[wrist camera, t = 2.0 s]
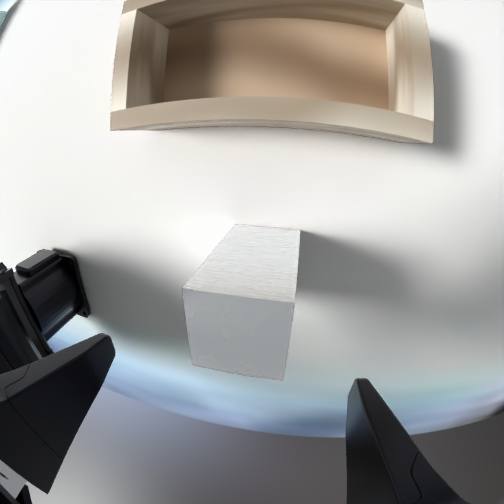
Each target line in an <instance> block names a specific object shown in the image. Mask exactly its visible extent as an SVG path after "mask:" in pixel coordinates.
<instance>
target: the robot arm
mask: <svg viewBox="0 0 504 504" xmlns="http://www.w3.org/2000/svg"><path fill="white" fill-rule="evenodd" d="M76 314H78V315H81V316H83V317H88V316H89V315H90V310H89V307H88V303H87V300H86V297H85V293H84V289H83V286H82V282H81V278H80V274H79V270H78V266H77V261H76V259H75V257H74V256H71V255H66V254H60V253H58V252H56V251H51V250H45V249H43V250H39V251H37V253H36V254H34V255H32V256H31V257H29V258H27V259H26V260H24V261H22V262H21V263H19V264H17V265H16V272H13V270H12V268H10V269H7V267H6V266H5V265H4V264H3V263H2V262H1V263H0V504H32V502H31V498H30V493H29V489H28V486H27V485H26V484H25V483H26V482H27V481H28V482H30V483H31V484H33V485H34V486H36V487H37V488H39V489H40V490H42V491H43V492H45V493H46V494H48V493H49V491H50V489H51V487H52V484H53V482H54V479H55V477H56V475H57V473H58V471H59V469H60V466H61V464H62V462H63V459H64V458H65V455H66V453H67V451H68V449H69V447H70V445H71V443H72V441H73V439H74V437H75V435H76V433H77V431H78V429H79V427H80V425H81V424H82V422H83V420H84V418H85V416H86V414H87V412H88V410H89V408H90V407H91V405H92V403H93V401H94V399H95V397H96V396H97V394H98V392H99V390H100V388H101V386H102V384H103V382H104V380H105V378H106V375H107V373H108V371H109V368H110V366H111V364H112V362H113V359H114V357H115V348H114V345H113V343H112V340H111V337H110V336H109V335H106V334H103V333H100V334H97V335H95V336H93V337H90V338H88V339H86V340H84V341H81V342H79V343H77V344H74V345H72V346H70V347H68V348H65V349H63V350H61V351H58V352H56V353H54V352H53V350H52V349H51V348H50V347H49V345H48V343H47V341H48V340H49V339H50V338H51V337H52V336H53V335H54V334H55V333H57V332H58V331H59V330H60V329H61V328H62V327H63V326H64V325H65V324H66V323H67V322H69V321H70V320H71V319H72V318H73V317H74V316H75V315H76ZM346 465H347V504H471V503H469V502H467V501H465V500H464V499H462V498H461V497H460V496H459V495H458V494H457V493H456V492H455V491H454V490H453V489H452V488H451V487H450V486H449V484H448V483H447V482H446V481H445V480H444V479H443V478H442V477H441V476H440V475H439V474H438V472H437V471H436V470H435V469H434V468H433V467H432V465H431V464H430V463H429V461H428V460H427V459H426V458H425V456H424V455H423V453H422V452H421V451H420V450H419V448H418V447H417V445H416V444H415V442H414V441H413V440H412V438H411V437H410V435H409V434H408V433H407V431H406V430H405V429H404V427H403V426H402V425H401V423H400V422H399V420H398V419H397V418H396V416H395V415H394V414H393V412H392V411H391V410H390V408H389V407H388V405H387V404H386V403H385V401H384V400H383V399H382V397H381V396H380V395H379V393H378V392H377V391H376V389H375V388H374V387H373V385H372V384H371V383H370V381H369V380H368V379H365V378H357V379H355V381H354V383H353V385H352V387H351V390H350V392H349V395H348V404H347V422H346Z"/></svg>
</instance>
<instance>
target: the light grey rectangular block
mask: <svg viewBox="0 0 504 504" xmlns="http://www.w3.org/2000/svg"><path fill="white" fill-rule="evenodd" d="M299 245H300V230H295V229H284V228H273V227H262V226H251V225H238V224H235V225H234V226H233V227H232V229H231V230H230V231H229V232H228V233H227V234H226V236H225V237H224V238H223V239H222V240H221V242H220V243H219V244H218V245H217V246H216V247H215V249H214V250H213V251H212V252H211V253H210V255H209V256H208V257H207V258H206V259H205V261H204V262H203V263H202V264H201V265H200V267H199V268H198V269H197V270H196V271H195V273H194V274H193V275H192V276H191V278H190V279H189V280H188V281H187V282H186V284H185V285H184V286H183V287H182V293H183V302H184V310H185V318H186V326H187V333H188V340H189V347H190V354H191V360H192V365H195V366H199V367H204V368H209V369H214V370H219V371H224V372H229V373H235V374H241V375H247V376H253V377H260V378H267V379H275V380H283V378H284V372H285V366H286V359H287V353H288V347H289V340H290V334H291V327H292V320H293V312H294V305H295V295H296V284H297V272H298V259H299Z"/></svg>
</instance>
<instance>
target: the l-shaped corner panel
mask: <svg viewBox="0 0 504 504" xmlns="http://www.w3.org/2000/svg"><path fill="white" fill-rule="evenodd" d="M7 14H8V12H5V11H0V27H1V25H2V23H3V21H4V19H5V17H6V15H7Z"/></svg>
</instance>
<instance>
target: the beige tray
mask: <svg viewBox="0 0 504 504" xmlns="http://www.w3.org/2000/svg"><path fill="white" fill-rule="evenodd" d="M213 126H263V127H286V128H301V129H312V130H323V131H332V132H340V133H348V134H355V135H361V136H368V137H374V138H379V139H385V140H390V141H395V142H402V143H433V130H434V86H433V69H432V57H431V48H430V40H429V33H428V27H427V21H426V16H425V11H424V6H423V2H422V0H127V1H124V6H123V10H122V15H121V20H120V26H119V31H118V38H117V44H116V52H115V60H114V69H113V80H112V94H111V120H110V131H116V130H164V129H176V128H190V127H213Z"/></svg>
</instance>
